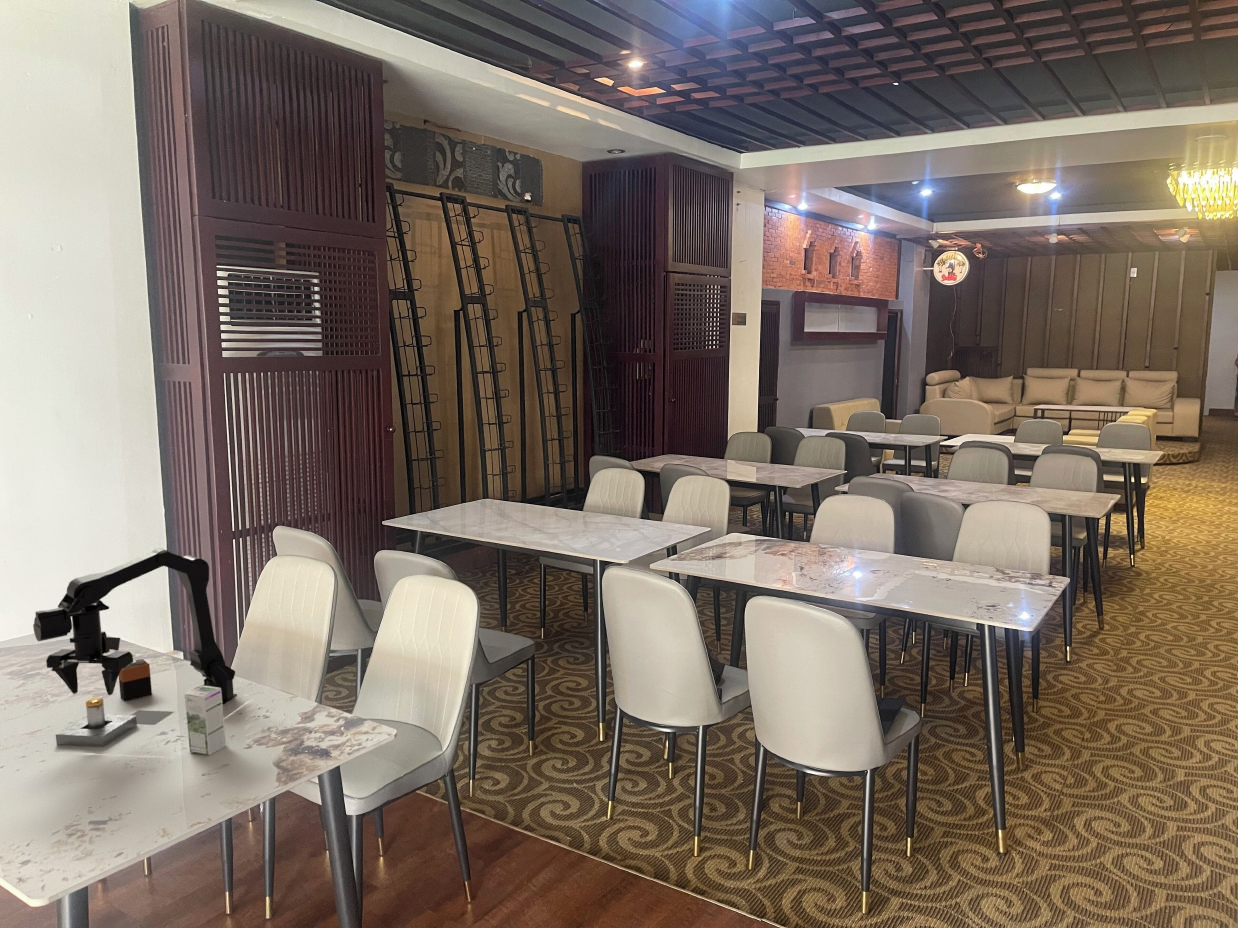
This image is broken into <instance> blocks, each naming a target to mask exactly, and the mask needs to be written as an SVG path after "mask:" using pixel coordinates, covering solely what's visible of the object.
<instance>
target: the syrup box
mask: <svg viewBox="0 0 1238 928" xmlns="http://www.w3.org/2000/svg"><path fill="white" fill-rule="evenodd" d="M184 700H185V711H186V712H185V713H186V724H187V733H188V745H189V746H188V747H189V753H192V754H199V755H205V756H210V755H213V754H214V753H216V752H218V751H220V750H221V749H223V748H225V747H226V746H227V742H226V734H225V732H226V731H225V730H226V729H225V721H224V720H225V719H224V708H223V706H224V704H222V693H221V688H218V687H211V686H203V684H202V685H200V686H197V687H194V688H192V689H190V690H189V691H186V692H185V693H184Z"/></svg>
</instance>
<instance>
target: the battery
mask: <svg viewBox="0 0 1238 928" xmlns="http://www.w3.org/2000/svg"><path fill="white" fill-rule="evenodd" d="M150 667H151V666H150V664H149V662H148V661H146V660H145V659H144V658H139V659H135V662H134V661H133V662H132V663H130V664H129V665H128V666H126V667H124V668H123V669H122V670H121V671H120V673H119V676H118V683H119V684H118V685H119V693H120V695H119V696H120V699H121V700H122V701H124V702H130V701H134V700H137V699H142V698H145V697H149V696H152V695H153V691H152V690H153V689H152V678H151V669H150Z"/></svg>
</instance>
